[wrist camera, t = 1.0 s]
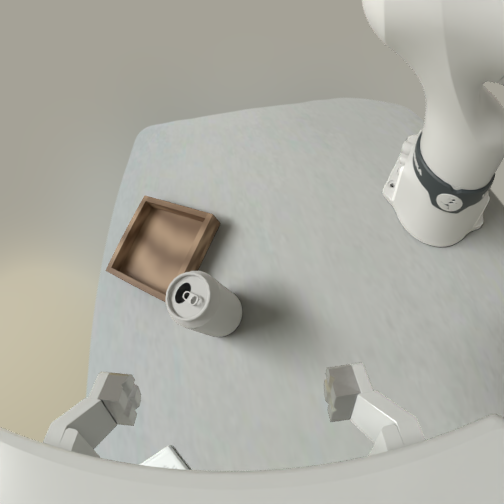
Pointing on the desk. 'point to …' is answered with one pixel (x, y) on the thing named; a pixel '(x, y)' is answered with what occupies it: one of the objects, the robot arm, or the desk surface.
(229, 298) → the can
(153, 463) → the external hard drive
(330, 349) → the desk surface
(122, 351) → the desk surface
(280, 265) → the desk surface
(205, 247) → the tray
